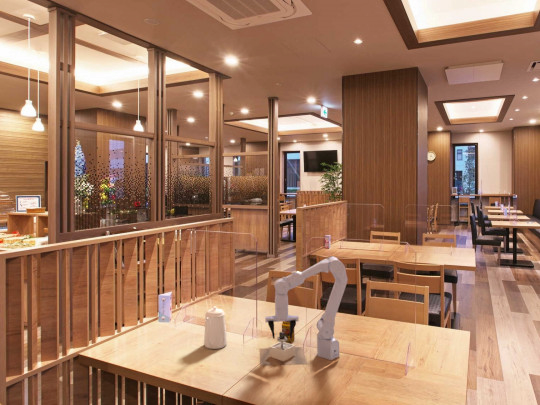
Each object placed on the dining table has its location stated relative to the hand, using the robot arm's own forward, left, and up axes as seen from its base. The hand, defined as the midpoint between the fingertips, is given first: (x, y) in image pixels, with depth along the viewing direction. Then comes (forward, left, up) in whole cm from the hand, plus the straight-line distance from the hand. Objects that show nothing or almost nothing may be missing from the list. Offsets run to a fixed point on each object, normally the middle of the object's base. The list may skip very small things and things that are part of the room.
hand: (282, 337), depth 182 cm
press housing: (0, 0, -8) cm, 8 cm away
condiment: (+12, -15, -9) cm, 21 cm away
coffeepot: (+32, +14, -9) cm, 36 cm away
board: (0, 0, -9) cm, 9 cm away
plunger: (0, 0, -5) cm, 5 cm away
